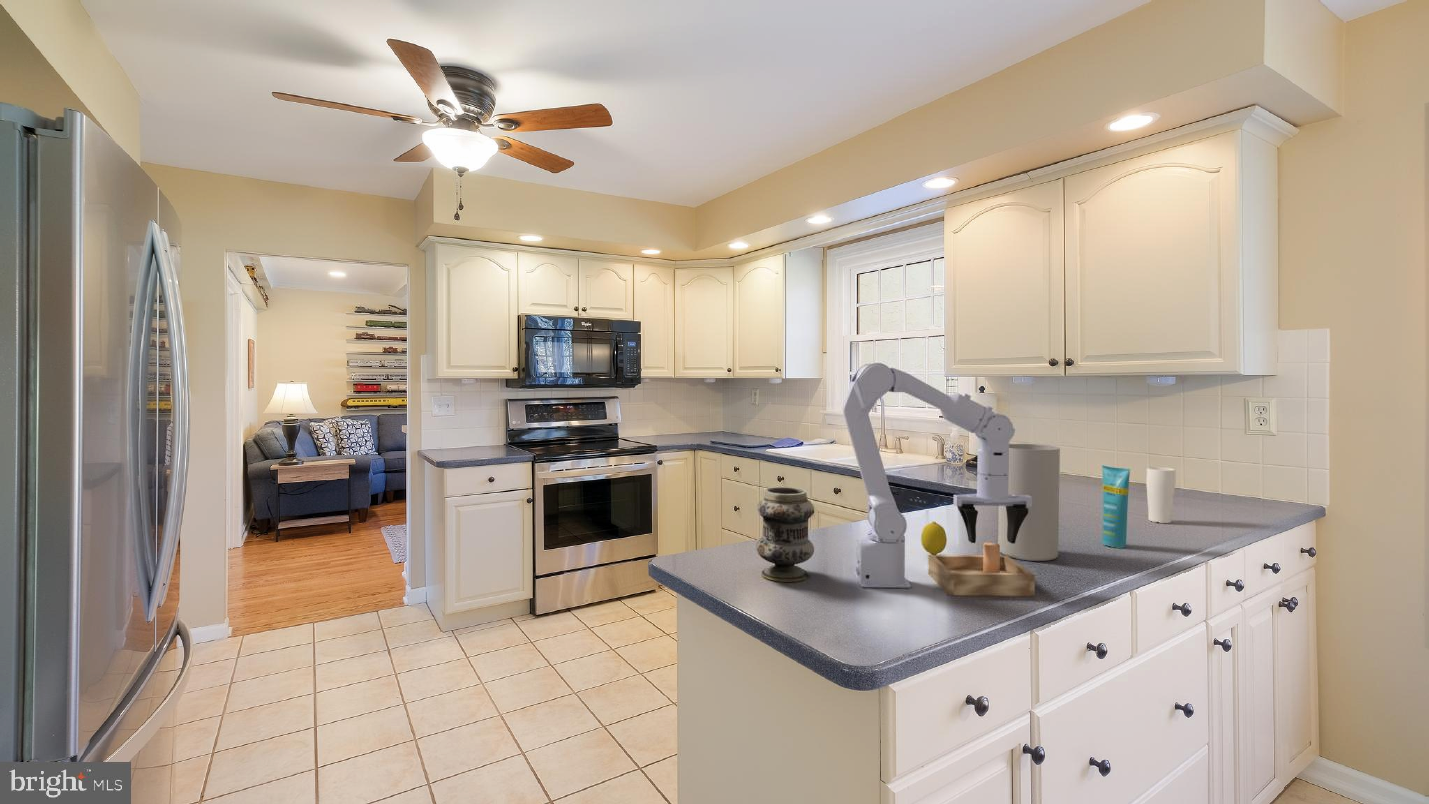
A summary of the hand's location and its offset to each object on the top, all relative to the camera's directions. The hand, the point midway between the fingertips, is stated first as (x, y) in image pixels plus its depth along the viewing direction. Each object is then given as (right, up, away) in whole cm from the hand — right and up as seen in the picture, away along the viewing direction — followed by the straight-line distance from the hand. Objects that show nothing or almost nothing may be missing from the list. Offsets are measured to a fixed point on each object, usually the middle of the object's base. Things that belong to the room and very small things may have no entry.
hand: (991, 542), depth 128 cm
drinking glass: (+70, -6, +53) cm, 88 cm away
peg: (0, -9, 0) cm, 9 cm away
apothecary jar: (-40, -9, +7) cm, 42 cm away
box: (-2, -9, 0) cm, 9 cm away
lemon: (-4, -8, +21) cm, 23 cm away
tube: (+42, -7, +29) cm, 51 cm away
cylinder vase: (+18, -8, +22) cm, 29 cm away
